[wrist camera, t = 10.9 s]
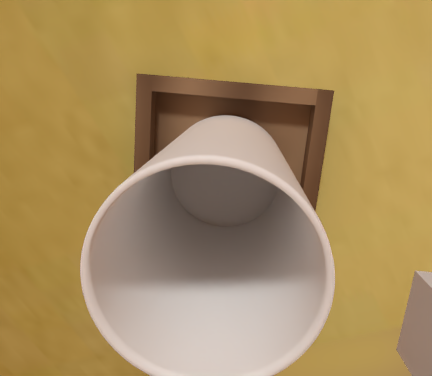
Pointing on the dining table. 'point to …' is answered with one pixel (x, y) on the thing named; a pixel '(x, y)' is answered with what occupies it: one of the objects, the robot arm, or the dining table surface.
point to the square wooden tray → (242, 107)
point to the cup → (209, 258)
